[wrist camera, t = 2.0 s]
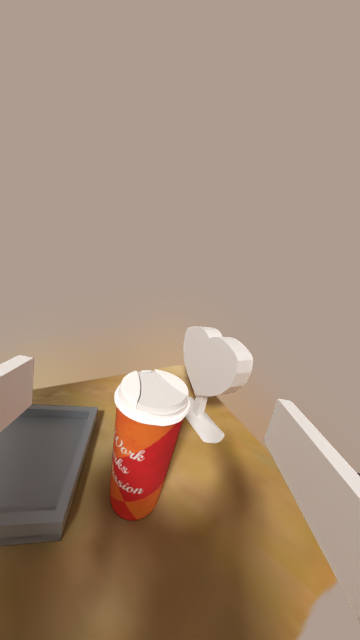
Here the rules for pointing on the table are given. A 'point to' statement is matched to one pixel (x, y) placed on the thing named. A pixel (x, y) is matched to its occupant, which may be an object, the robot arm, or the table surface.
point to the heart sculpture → (212, 374)
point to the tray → (41, 470)
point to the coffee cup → (144, 439)
